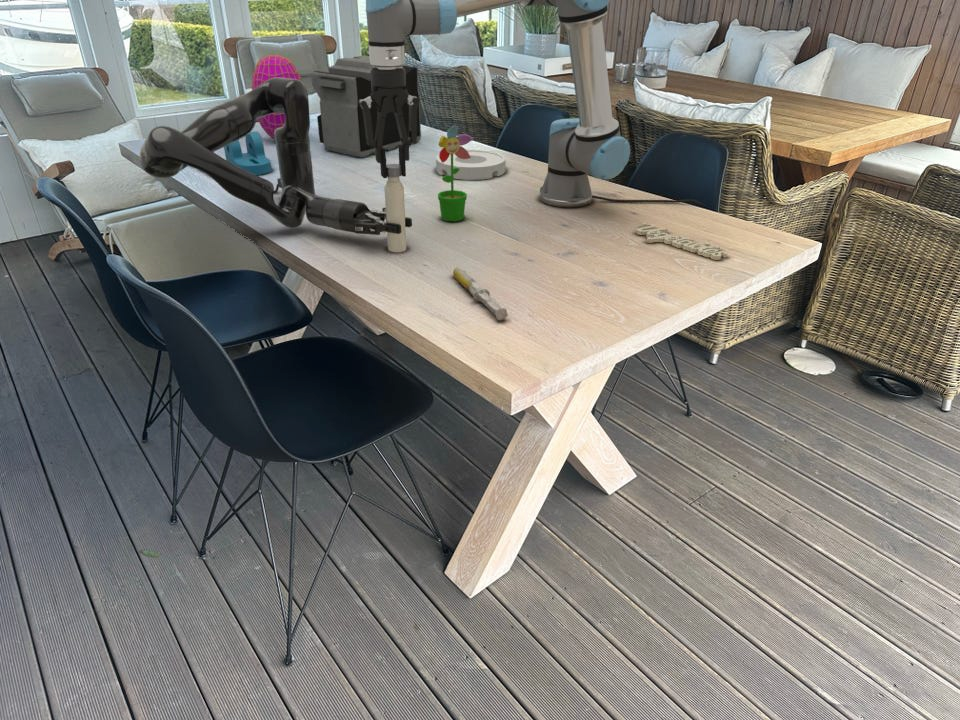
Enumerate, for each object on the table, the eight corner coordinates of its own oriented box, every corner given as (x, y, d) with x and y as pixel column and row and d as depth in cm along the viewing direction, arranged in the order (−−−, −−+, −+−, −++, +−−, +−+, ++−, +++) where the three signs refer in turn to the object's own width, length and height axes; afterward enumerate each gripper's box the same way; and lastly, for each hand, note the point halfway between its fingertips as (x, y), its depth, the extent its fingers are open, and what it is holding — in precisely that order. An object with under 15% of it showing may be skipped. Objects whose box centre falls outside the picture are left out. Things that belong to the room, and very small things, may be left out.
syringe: (449, 274, 155) (449, 263, 153) (465, 272, 156) (464, 260, 154) (490, 323, 135) (491, 310, 133) (508, 319, 136) (508, 307, 134)
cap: (394, 178, 157) (394, 169, 156) (381, 175, 158) (380, 166, 157) (405, 174, 159) (405, 165, 158) (392, 172, 161) (391, 162, 160)
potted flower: (443, 224, 183) (442, 128, 170) (432, 216, 189) (429, 122, 176) (475, 219, 187) (476, 124, 174) (462, 211, 193) (462, 119, 180)
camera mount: (227, 164, 233) (221, 132, 227) (257, 160, 238) (252, 129, 233) (244, 176, 220) (239, 143, 215) (276, 172, 225) (271, 139, 220)
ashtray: (439, 160, 240) (438, 148, 238) (505, 161, 240) (505, 150, 238) (433, 179, 220) (432, 166, 218) (505, 180, 220) (505, 168, 218)
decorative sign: (622, 230, 178) (646, 222, 184) (622, 233, 179) (645, 225, 184) (711, 260, 161) (734, 250, 167) (711, 264, 162) (733, 253, 167)
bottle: (388, 252, 166) (383, 172, 156) (387, 246, 170) (383, 166, 160) (407, 252, 167) (403, 171, 157) (406, 245, 170) (402, 166, 160)
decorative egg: (293, 132, 276) (283, 50, 261) (319, 140, 264) (310, 56, 249) (249, 139, 265) (236, 54, 250) (273, 148, 253) (261, 60, 238)
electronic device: (383, 133, 276) (378, 52, 261) (425, 141, 265) (422, 56, 250) (314, 150, 251) (304, 61, 235) (358, 160, 240) (350, 67, 224)
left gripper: (363, 221, 178) (421, 231, 172) (330, 239, 166) (391, 250, 160) (360, 193, 174) (420, 202, 168) (327, 209, 163) (389, 219, 156)
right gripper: (352, 70, 141) (361, 183, 153) (430, 67, 147) (433, 176, 159) (345, 66, 147) (354, 174, 159) (420, 63, 153) (423, 168, 165)
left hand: (405, 226), depth 164 cm, fingers closed on bottle, 4 cm apart
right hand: (393, 175), depth 159 cm, fingers closed on cap, 4 cm apart
